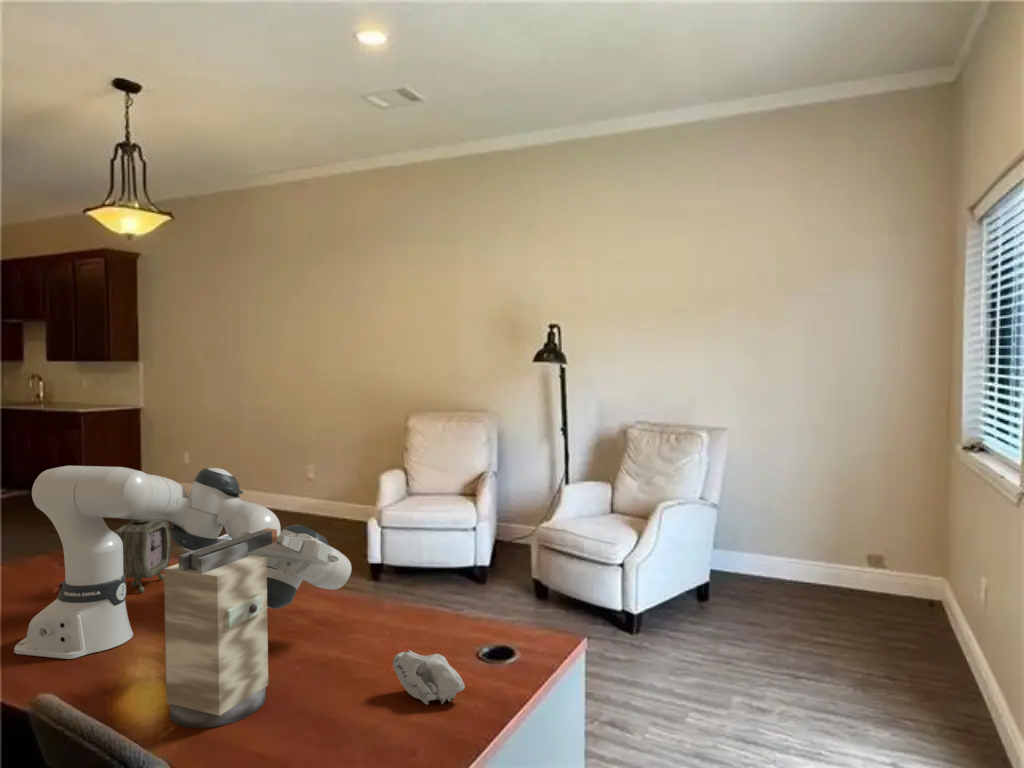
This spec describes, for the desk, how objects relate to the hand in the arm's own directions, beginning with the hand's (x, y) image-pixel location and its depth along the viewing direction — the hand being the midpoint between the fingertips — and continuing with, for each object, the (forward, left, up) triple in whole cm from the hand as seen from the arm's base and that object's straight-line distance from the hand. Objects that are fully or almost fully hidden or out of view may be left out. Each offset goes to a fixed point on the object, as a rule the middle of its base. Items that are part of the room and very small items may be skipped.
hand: (261, 537), depth 135 cm
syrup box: (-28, +52, -28) cm, 66 cm away
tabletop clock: (-53, +54, -28) cm, 81 cm away
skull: (+34, -7, -28) cm, 44 cm away
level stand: (-4, -11, -28) cm, 30 cm away
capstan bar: (-2, -6, -2) cm, 7 cm away
